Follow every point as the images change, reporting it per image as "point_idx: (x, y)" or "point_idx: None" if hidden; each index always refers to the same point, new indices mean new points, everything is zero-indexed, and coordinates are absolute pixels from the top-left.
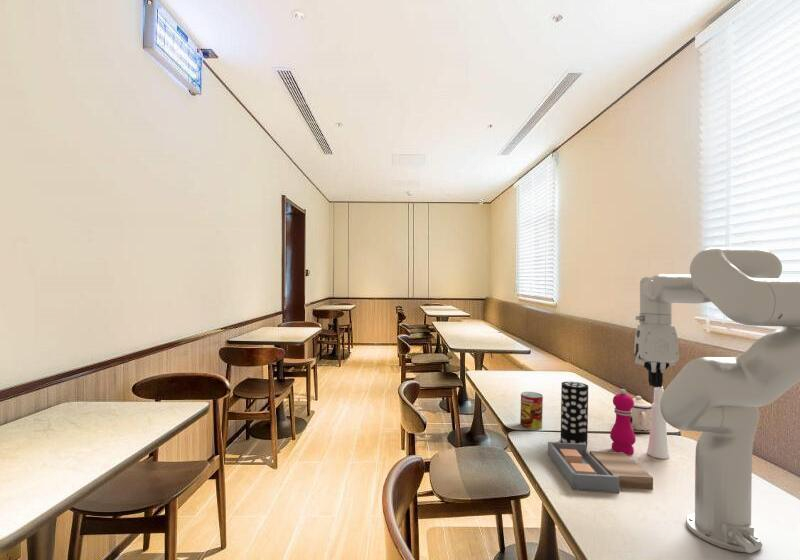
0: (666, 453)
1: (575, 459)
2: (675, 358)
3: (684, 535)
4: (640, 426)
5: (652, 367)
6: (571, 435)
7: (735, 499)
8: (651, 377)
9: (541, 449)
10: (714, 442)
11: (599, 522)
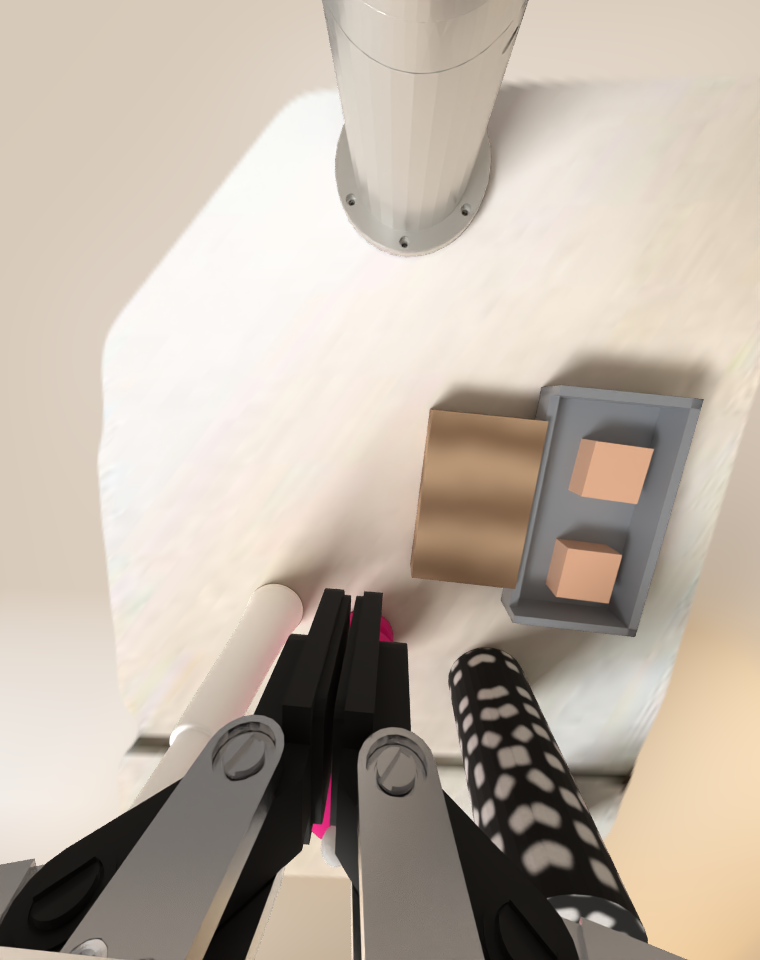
0: (261, 593)
1: (582, 546)
2: None
3: (514, 168)
4: None
5: (430, 828)
6: (522, 683)
7: None
8: (407, 692)
9: (608, 647)
10: None
11: (704, 227)
